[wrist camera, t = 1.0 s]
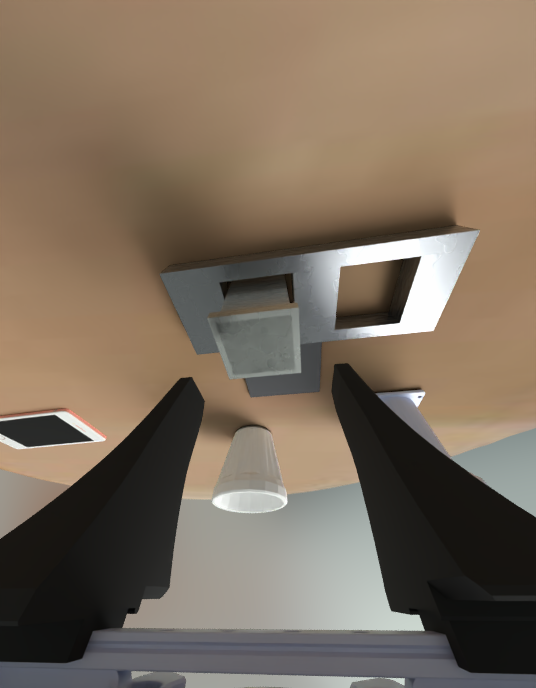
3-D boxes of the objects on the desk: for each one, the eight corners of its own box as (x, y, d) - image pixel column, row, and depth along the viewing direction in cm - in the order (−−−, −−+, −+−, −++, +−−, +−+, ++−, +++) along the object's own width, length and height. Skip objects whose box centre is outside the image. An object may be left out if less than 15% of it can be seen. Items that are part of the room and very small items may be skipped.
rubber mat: (318, 389, 26) (319, 391, 26) (250, 394, 27) (250, 397, 27) (321, 333, 21) (321, 335, 20) (235, 342, 21) (235, 344, 21)
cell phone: (-32, 417, 31) (-39, 423, 30) (69, 405, 29) (64, 411, 28) (21, 444, 36) (16, 449, 36) (110, 435, 35) (106, 441, 34)
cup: (216, 441, 35) (202, 508, 28) (234, 411, 29) (224, 486, 22) (268, 452, 38) (268, 516, 30) (294, 426, 32) (302, 497, 25)
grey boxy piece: (291, 320, 20) (301, 372, 14) (240, 326, 20) (229, 379, 15) (288, 267, 16) (298, 307, 11) (226, 275, 17) (207, 318, 11)
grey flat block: (420, 319, 20) (433, 330, 18) (202, 342, 21) (197, 354, 20) (457, 225, 15) (480, 230, 13) (169, 265, 16) (159, 273, 15)
